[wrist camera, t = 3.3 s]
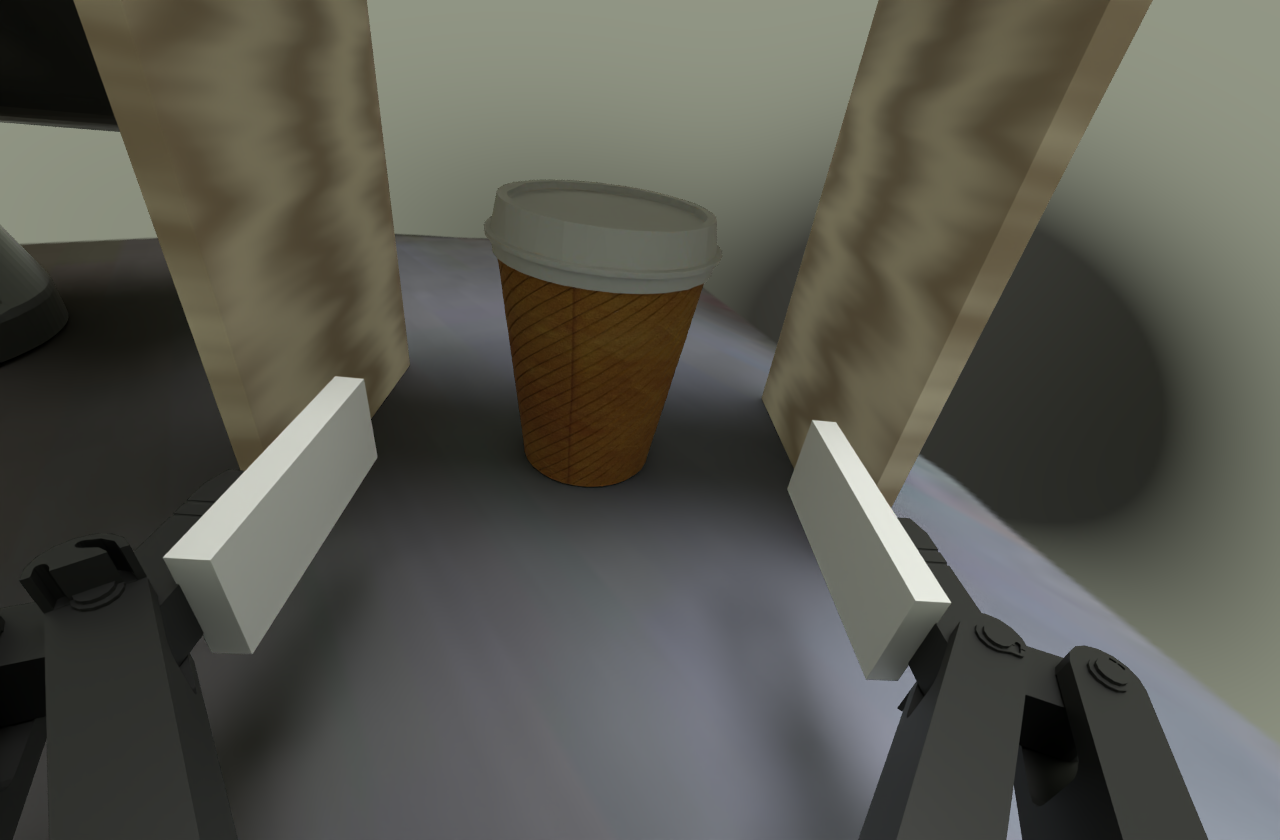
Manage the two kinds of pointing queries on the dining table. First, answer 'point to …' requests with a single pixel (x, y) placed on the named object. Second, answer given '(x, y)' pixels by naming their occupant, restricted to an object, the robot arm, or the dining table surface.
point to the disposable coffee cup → (596, 316)
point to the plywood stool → (364, 233)
